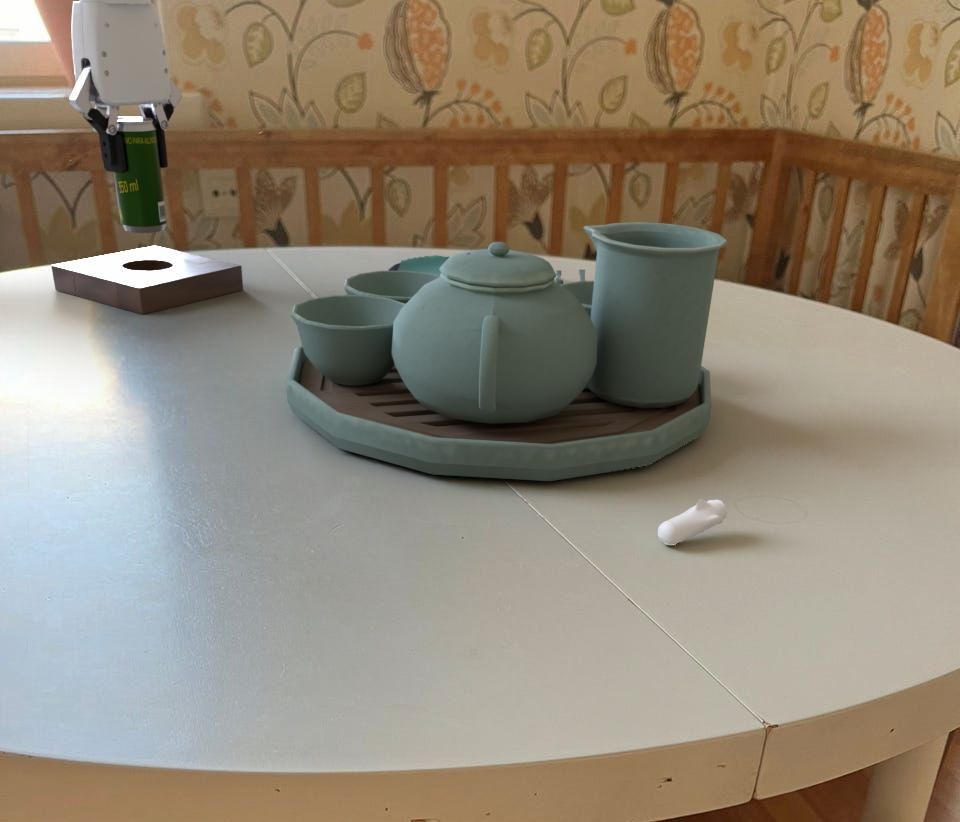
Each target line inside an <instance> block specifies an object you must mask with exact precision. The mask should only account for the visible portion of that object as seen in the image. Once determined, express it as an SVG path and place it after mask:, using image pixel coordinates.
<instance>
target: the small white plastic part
mask: <svg viewBox="0 0 960 822" xmlns="http://www.w3.org/2000/svg"><path fill="white" fill-rule="evenodd" d="M727 516H728V510H727V507H726V505H725V503H724V502H723V501H722V500H720V499H709V500H707V501H706V499H705V498H700V499H698V500H697V502H696V503H695V505H693V506H692V507H690V508H688V509H687V510H686V511H684V512H682V513H679V514H678V515H676V516H674V517H671V518H670V519H667V520H666V521H663V522H661V523H660V525H659V526H658V528H657V536H658V538H656V539H654V542H656V541H658V540H659V541H660V540H661V541H662V542H666V543H668V544H677V543H679V542H681V543H683V542H684V540H685V541H687V540H689V539H691V538H693V537H696V536H697V535H699V534H701V533H704V532H705V531H707V530H709V529H711V528H713V527H715V526H717V525H720V524H722V523H723V521H724V520H725V519H726V518H727ZM686 539H687V540H686ZM661 541H660V542H661ZM682 541H683V542H682ZM662 542H661V543H662ZM679 544H680V543H679ZM677 545H678V544H677Z"/></svg>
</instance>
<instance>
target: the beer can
mask: <svg viewBox="0 0 960 822" xmlns="http://www.w3.org/2000/svg"><path fill="white" fill-rule="evenodd" d="M116 134H118V135H121V136H122V139H123V146H124V154H125V162H126V172H125V173H116V172H113V179H114V184H115V185H114V186H115V191H116V192H115V193H116V199H117V205H118V215H119V221H120V222H119V223H120V225H121V226H122V229H123V230H124V231H125V232H128V233H134V234H151V233H160V232H163V231H164V230H166V228H167V227H166V226H167V223H168V221H167V213H166V205H165V195H164V187H163V186H164V185H163V179H162V171H161V170H162V168H160V160H159V151H158V143H157V134H156V128H155V126H154V124H153V119H152V118H148V117H143V116H118V125H117V133H116Z"/></svg>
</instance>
